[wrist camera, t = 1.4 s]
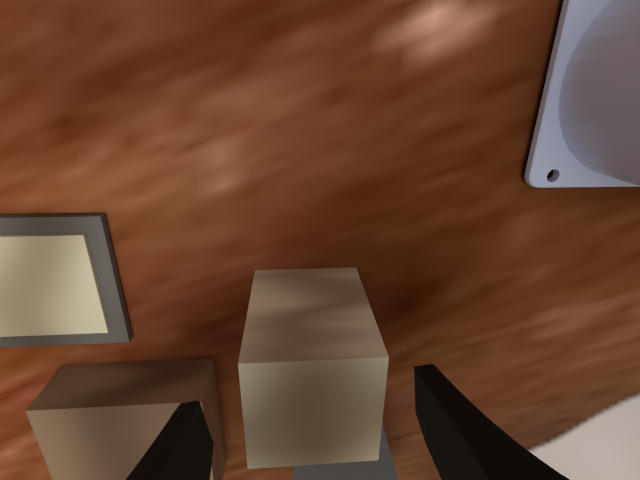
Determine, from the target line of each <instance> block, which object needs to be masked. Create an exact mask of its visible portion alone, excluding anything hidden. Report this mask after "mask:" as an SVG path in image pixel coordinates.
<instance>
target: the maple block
mask: <svg viewBox="0 0 640 480" xmlns="http://www.w3.org/2000/svg"><path fill="white" fill-rule="evenodd" d="M388 361H389V356H388V353H387V351H386V348H385V345H384V342H383V340H382V337H381V334H380V331H379V329H378V326H377V323H376V320H375V318H374V315H373V312H372V310H371V307H370V304H369V301H368V299H367V296H366V293H365V290H364V288H363V285H362V282H361V279H360V277H359V274H358V271H357V268H356V267H351V268H313V269H275V270H255V272H254V278H253V284H252V289H251V295H250V300H249V306H248V311H247V317H246V322H245V328H244V333H243V339H242V344H241V350H240V356H239V361H238V369H239V380H240V391H241V401H242V412H243V422H244V433H245V443H246V454H247V465H248V469H254V468H270V467H285V466H300V465H315V464H331V463H346V462H361V461H376V460H378V459H379V449H380V439H381V429H382V420H383V410H384V400H385V390H386V381H387V371H388Z"/></svg>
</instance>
